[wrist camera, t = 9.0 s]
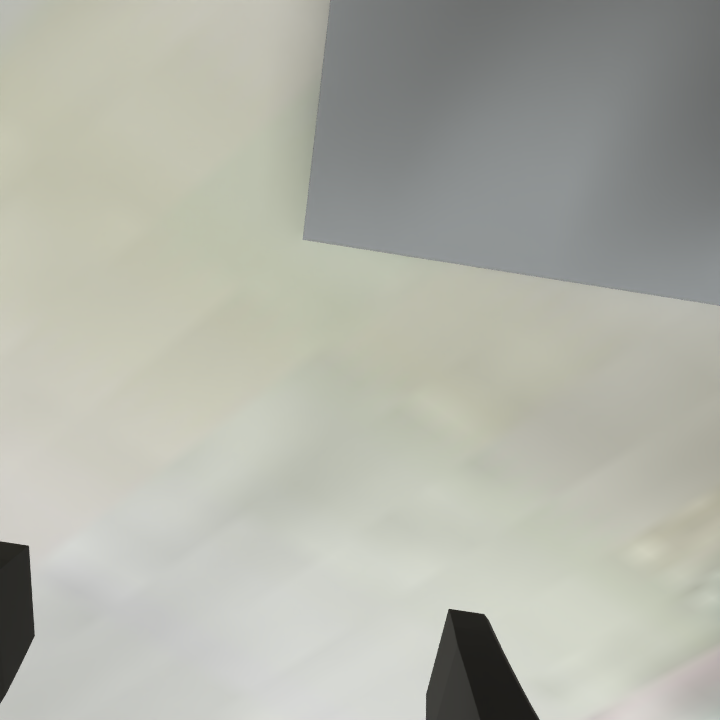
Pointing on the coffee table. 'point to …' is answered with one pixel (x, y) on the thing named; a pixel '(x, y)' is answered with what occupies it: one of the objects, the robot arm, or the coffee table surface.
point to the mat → (526, 138)
